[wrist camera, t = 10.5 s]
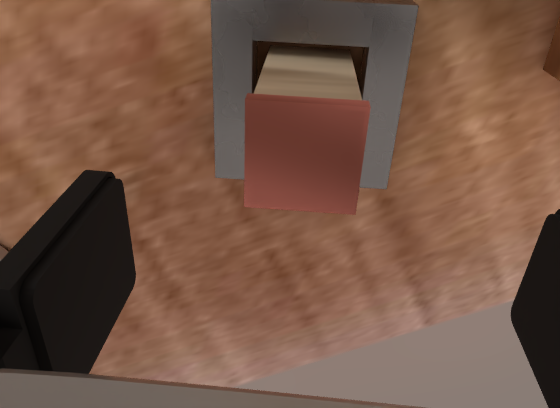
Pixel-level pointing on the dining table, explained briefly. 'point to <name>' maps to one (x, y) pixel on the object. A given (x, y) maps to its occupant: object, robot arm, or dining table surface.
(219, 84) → the socket block
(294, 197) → the pin
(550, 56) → the light brown cube
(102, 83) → the dining table surface
